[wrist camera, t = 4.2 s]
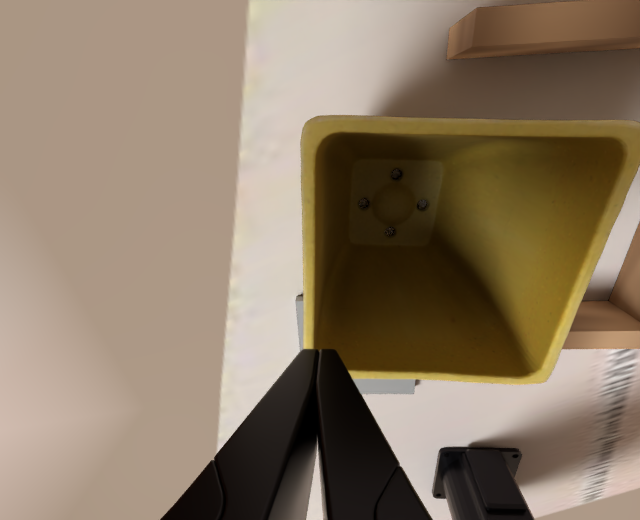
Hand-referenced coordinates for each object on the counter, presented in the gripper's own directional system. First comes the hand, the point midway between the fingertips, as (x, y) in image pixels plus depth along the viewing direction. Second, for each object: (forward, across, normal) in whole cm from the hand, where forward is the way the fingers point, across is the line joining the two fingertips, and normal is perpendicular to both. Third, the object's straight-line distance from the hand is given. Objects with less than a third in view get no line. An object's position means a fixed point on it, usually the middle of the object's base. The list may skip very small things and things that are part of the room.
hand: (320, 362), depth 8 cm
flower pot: (+12, -4, -1) cm, 12 cm away
